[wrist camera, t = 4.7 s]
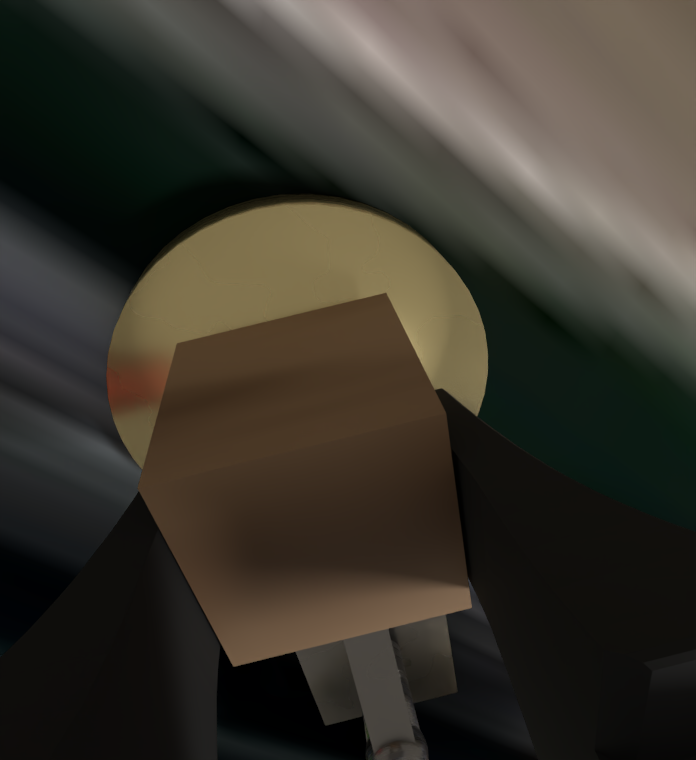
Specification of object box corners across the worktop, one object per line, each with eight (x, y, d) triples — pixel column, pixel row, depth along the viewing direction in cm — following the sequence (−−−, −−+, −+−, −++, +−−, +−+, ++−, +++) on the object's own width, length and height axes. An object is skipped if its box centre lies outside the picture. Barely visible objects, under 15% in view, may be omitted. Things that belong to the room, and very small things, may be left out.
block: (414, 455, 14) (472, 608, 10) (240, 498, 14) (233, 666, 10) (386, 292, 12) (445, 413, 8) (176, 343, 12) (137, 488, 8)
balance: (508, 783, 28) (571, 967, 23) (331, 829, 28) (350, 1026, 22) (460, 151, 12) (634, 248, 7) (46, 246, 12) (-131, 428, 6)
